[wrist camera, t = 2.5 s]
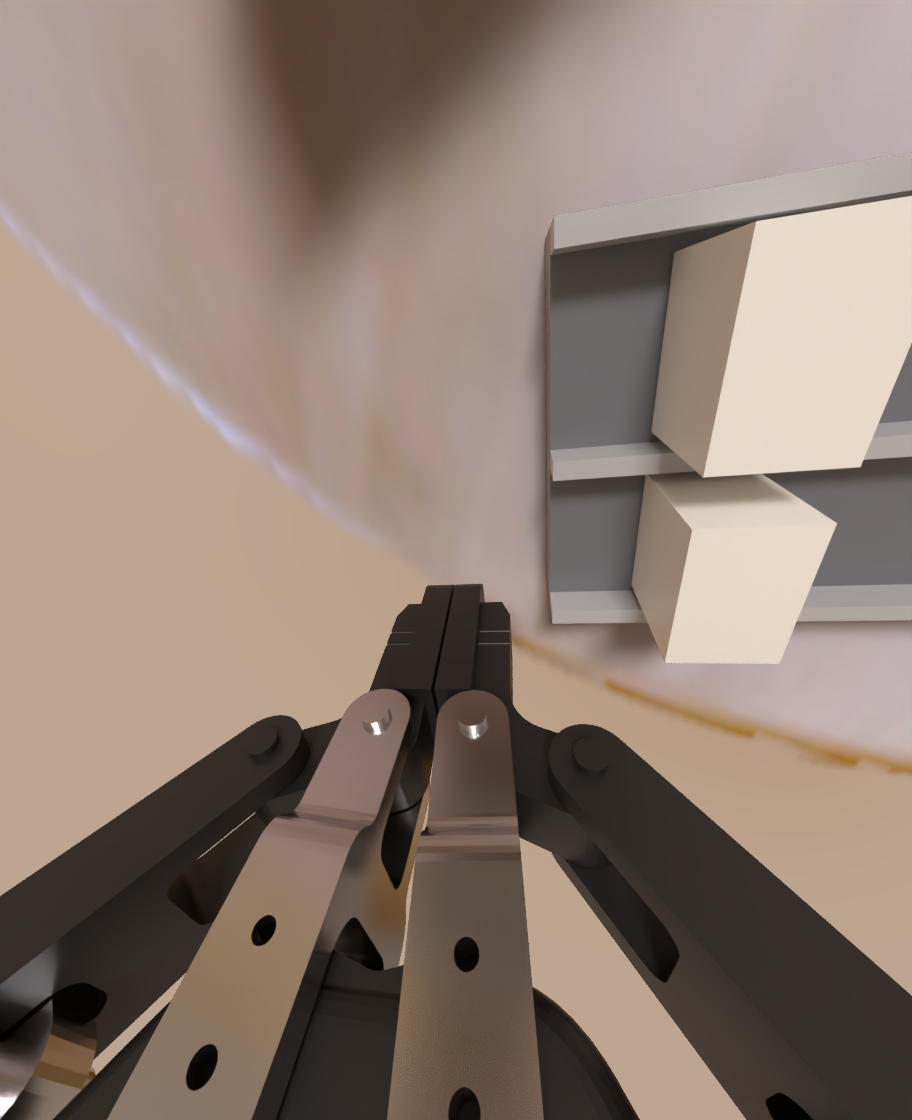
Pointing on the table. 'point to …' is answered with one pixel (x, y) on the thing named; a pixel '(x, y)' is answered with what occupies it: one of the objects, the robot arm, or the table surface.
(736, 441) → the near tab
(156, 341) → the table surface
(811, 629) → the table surface
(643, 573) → the far tab
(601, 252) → the switch panel
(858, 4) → the table surface
